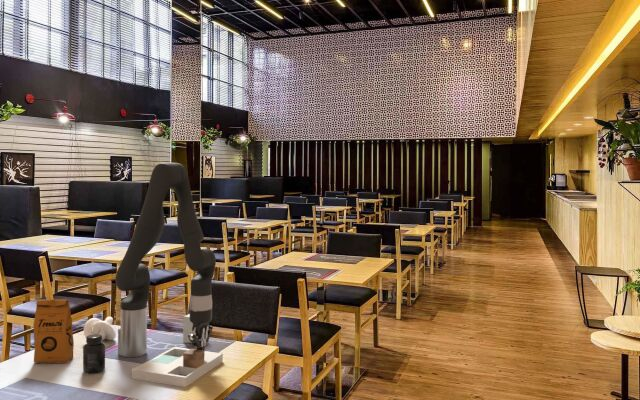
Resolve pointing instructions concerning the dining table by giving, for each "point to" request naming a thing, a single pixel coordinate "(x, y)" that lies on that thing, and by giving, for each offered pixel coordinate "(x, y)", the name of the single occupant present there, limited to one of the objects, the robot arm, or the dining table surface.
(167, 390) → the dining table surface
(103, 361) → the supplement bottle
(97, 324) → the white lumpy figure
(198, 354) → the walnut block
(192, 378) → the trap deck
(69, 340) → the coffee package
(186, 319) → the small box
